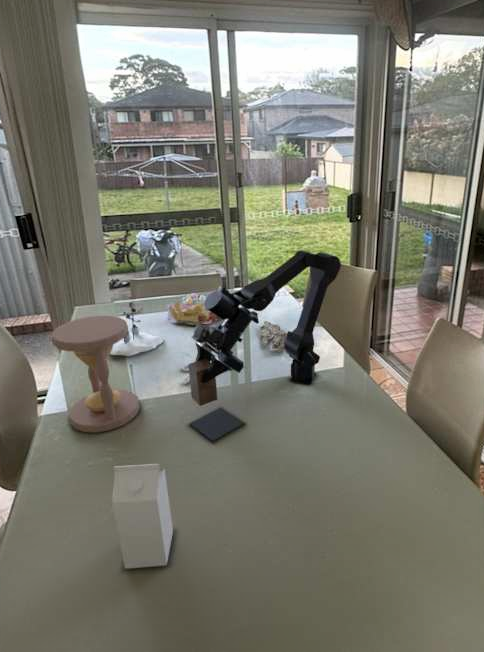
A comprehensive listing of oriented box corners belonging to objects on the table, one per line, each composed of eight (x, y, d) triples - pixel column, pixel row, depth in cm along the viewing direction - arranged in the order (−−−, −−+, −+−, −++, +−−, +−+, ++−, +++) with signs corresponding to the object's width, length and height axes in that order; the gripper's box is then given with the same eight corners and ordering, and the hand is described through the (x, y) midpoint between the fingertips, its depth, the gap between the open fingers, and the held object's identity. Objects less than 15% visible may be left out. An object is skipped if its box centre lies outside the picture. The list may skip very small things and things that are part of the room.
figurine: (138, 361, 144) (134, 313, 140) (93, 353, 149) (88, 307, 145) (172, 341, 162) (170, 299, 158) (131, 336, 168) (127, 294, 163)
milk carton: (134, 534, 82) (119, 452, 75) (173, 532, 83) (162, 449, 76) (124, 569, 76) (107, 482, 69) (166, 566, 76) (154, 479, 69)
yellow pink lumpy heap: (221, 327, 172) (220, 305, 169) (162, 327, 172) (159, 305, 169) (230, 304, 195) (229, 284, 192) (177, 304, 196) (175, 285, 192)
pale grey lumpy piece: (298, 344, 151) (290, 333, 149) (274, 363, 150) (265, 352, 148) (277, 323, 174) (270, 314, 172) (256, 339, 173) (249, 330, 171)
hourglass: (71, 403, 123) (53, 321, 114) (136, 390, 129) (124, 311, 120) (69, 440, 108) (48, 349, 99) (143, 423, 114) (130, 335, 105)
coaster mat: (220, 409, 120) (220, 407, 120) (244, 424, 113) (244, 422, 113) (189, 425, 113) (189, 423, 113) (213, 442, 107) (212, 440, 107)
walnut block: (208, 391, 118) (205, 358, 115) (217, 399, 115) (214, 365, 111) (191, 397, 116) (188, 363, 112) (199, 406, 112) (196, 371, 108)
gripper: (195, 302, 116) (159, 351, 114) (230, 324, 102) (190, 380, 100) (223, 322, 123) (190, 368, 121) (259, 346, 109) (223, 399, 107)
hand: (197, 378), depth 112 cm, fingers closed on walnut block, 5 cm apart
